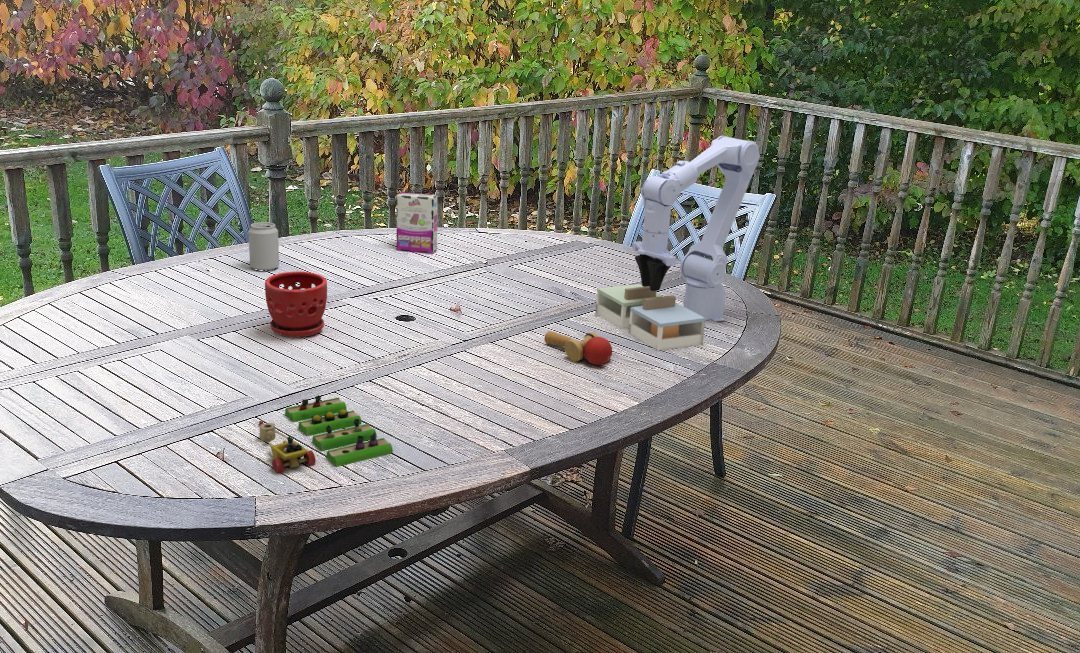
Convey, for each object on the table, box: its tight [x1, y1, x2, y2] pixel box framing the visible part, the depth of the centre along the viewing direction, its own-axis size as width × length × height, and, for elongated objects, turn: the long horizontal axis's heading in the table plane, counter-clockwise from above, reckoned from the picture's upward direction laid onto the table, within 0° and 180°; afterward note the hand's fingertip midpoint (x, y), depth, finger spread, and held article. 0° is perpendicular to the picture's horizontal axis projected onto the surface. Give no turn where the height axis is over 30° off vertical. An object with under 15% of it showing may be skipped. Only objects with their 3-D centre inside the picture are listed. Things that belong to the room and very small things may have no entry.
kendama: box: [544, 330, 613, 366], centre depth 208 cm, size 8×6×18 cm
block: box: [650, 322, 679, 339], centre depth 217 cm, size 4×4×4 cm
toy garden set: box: [259, 394, 394, 474], centre depth 165 cm, size 23×19×5 cm
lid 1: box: [596, 283, 663, 307], centre depth 230 cm, size 12×12×3 cm
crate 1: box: [594, 291, 643, 329], centre depth 232 cm, size 12×12×6 cm
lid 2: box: [631, 294, 706, 327], centre depth 218 cm, size 12×12×3 cm
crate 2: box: [628, 311, 706, 351], centre depth 219 cm, size 12×12×6 cm
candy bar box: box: [395, 192, 439, 254], centre depth 281 cm, size 11×5×16 cm, turn 80°
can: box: [247, 221, 280, 271], centre depth 256 cm, size 8×8×12 cm
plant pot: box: [264, 270, 328, 338], centre depth 212 cm, size 13×13×12 cm
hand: (650, 288), depth 223 cm, fingers open, 3 cm apart
